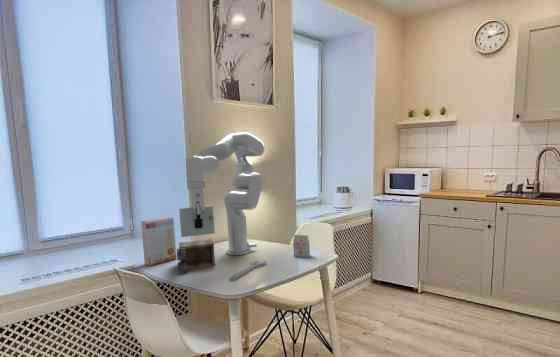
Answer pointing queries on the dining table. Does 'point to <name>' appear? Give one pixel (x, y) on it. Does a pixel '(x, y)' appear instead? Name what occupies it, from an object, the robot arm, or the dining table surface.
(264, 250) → the dining table surface
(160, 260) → the cracker box
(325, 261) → the dining table surface
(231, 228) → the robot arm
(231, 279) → the adjustable wrench
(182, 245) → the cabinet
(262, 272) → the dining table surface
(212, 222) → the grey flat block
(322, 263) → the dining table surface
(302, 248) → the small printed carton
